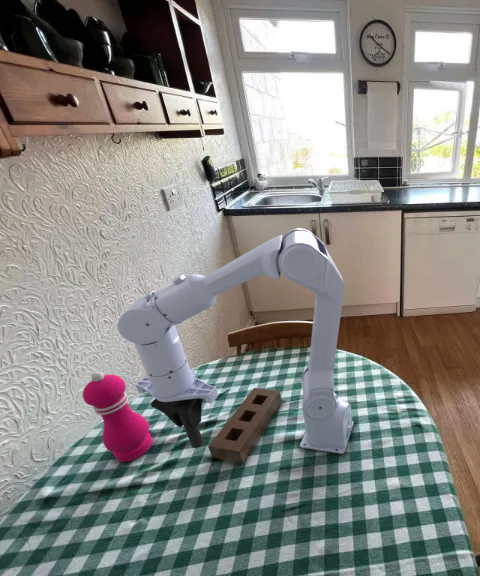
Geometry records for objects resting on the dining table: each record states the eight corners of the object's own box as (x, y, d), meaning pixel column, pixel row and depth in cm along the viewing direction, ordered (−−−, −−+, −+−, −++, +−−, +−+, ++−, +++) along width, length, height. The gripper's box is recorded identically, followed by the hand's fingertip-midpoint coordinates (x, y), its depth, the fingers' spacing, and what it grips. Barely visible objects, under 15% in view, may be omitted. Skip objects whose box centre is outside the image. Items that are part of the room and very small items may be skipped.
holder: (282, 401, 76) (279, 390, 75) (242, 463, 62) (239, 451, 60) (256, 398, 77) (253, 387, 76) (212, 458, 63) (207, 446, 61)
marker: (206, 440, 61) (193, 405, 57) (198, 449, 59) (185, 414, 55) (196, 438, 61) (183, 404, 57) (189, 447, 59) (174, 413, 56)
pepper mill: (133, 467, 61) (91, 389, 53) (103, 461, 62) (57, 384, 54) (163, 436, 67) (130, 362, 59) (136, 431, 69) (99, 358, 60)
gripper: (221, 355, 54) (238, 412, 60) (150, 346, 57) (173, 402, 63) (191, 382, 48) (213, 443, 54) (113, 372, 51) (142, 431, 56)
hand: (189, 423), depth 58 cm, fingers closed on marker, 2 cm apart
